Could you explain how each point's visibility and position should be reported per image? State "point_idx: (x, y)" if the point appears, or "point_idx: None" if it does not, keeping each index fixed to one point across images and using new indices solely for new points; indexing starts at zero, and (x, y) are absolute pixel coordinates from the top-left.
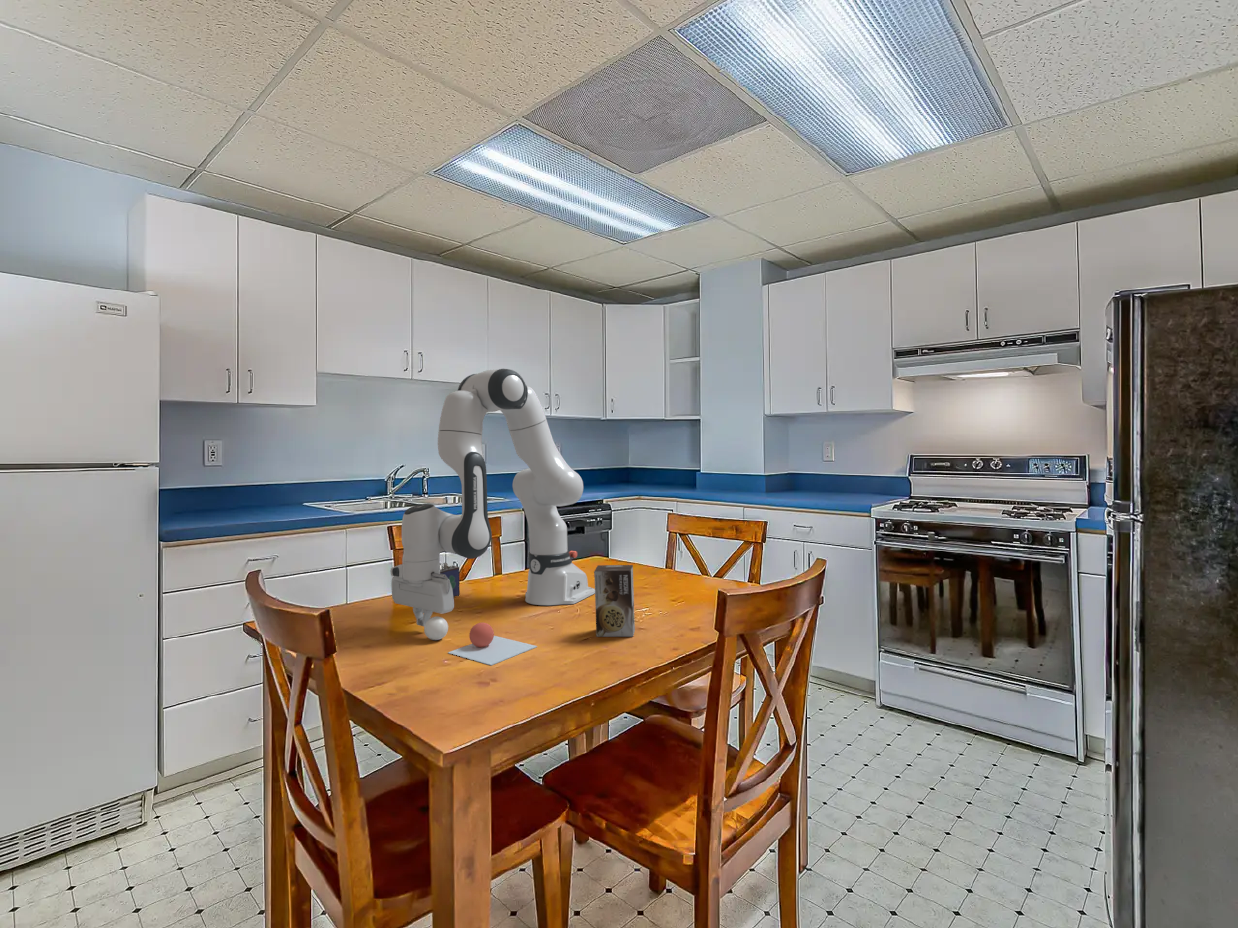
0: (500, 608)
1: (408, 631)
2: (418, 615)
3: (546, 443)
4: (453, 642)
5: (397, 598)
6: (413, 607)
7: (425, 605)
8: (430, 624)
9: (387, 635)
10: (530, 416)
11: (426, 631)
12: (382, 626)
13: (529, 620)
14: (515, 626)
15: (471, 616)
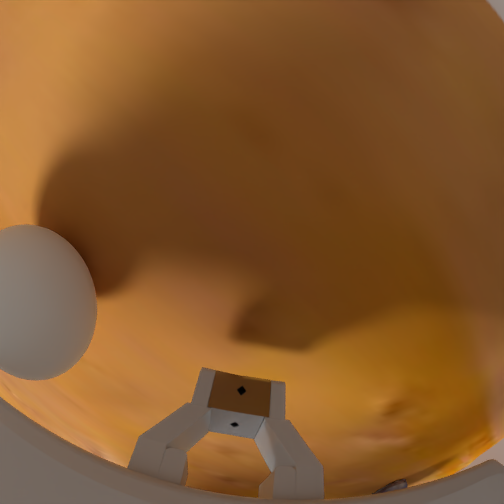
0: (205, 488)
1: (344, 333)
2: (271, 440)
3: None
4: None
5: (482, 497)
6: (316, 494)
7: (66, 484)
8: None
9: (432, 228)
10: None
11: (14, 230)
12: (500, 329)
13: (73, 433)
14: (50, 406)
15: (219, 467)
